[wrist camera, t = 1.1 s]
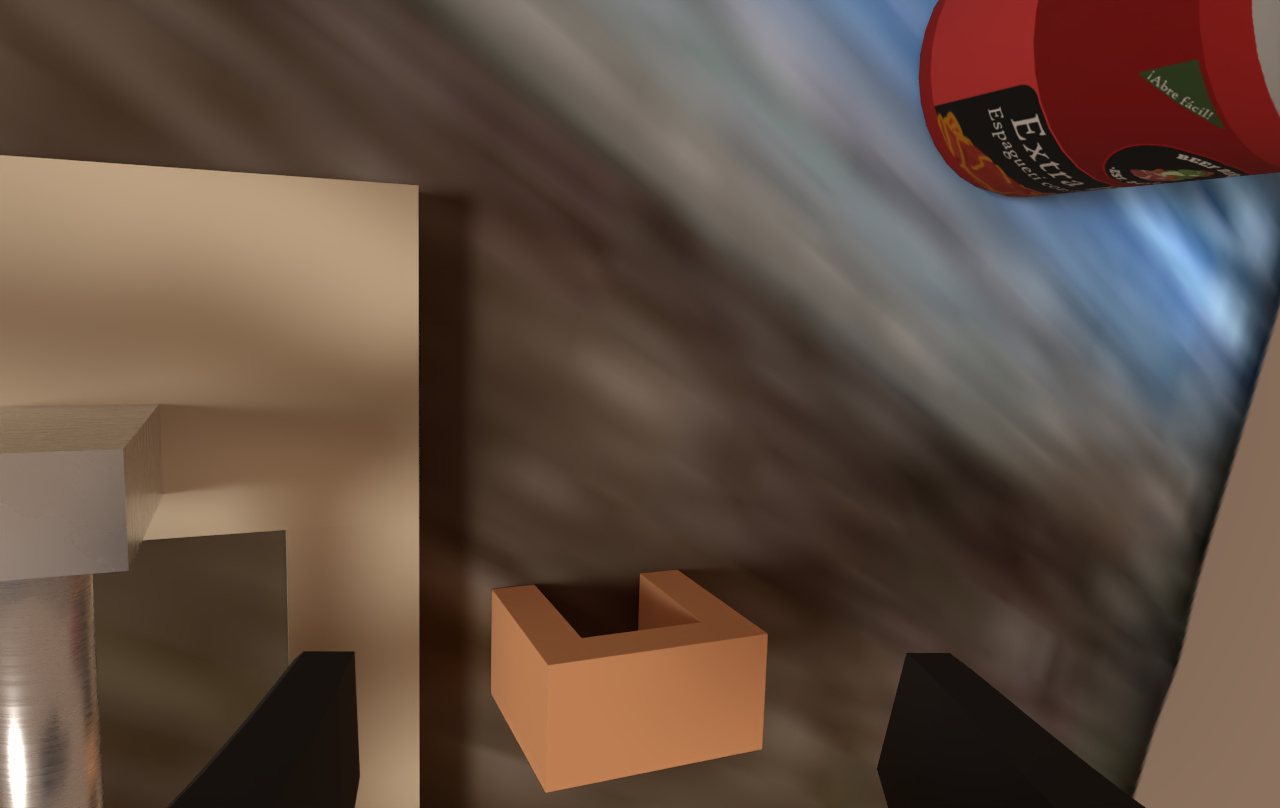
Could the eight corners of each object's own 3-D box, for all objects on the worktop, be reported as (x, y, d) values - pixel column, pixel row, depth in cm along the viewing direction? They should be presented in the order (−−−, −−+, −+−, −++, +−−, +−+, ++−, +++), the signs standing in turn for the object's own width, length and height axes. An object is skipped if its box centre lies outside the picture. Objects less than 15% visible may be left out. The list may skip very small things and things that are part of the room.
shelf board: (411, 1056, 25) (419, 1101, 24) (-233, 1252, 20) (-270, 1324, 18) (408, 190, 22) (418, 185, 21) (-359, 137, 16) (-415, 125, 15)
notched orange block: (673, 665, 27) (761, 749, 22) (491, 692, 25) (545, 792, 20) (676, 569, 26) (767, 633, 22) (492, 589, 24) (548, 665, 19)
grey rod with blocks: (183, 990, 21) (158, 1215, 16) (32, 1028, 20) (-46, 1283, 15) (159, 403, 19) (123, 449, 14) (-9, 406, 18) (-113, 457, 13)
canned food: (885, 164, 27) (1245, 100, 17) (943, -96, 27) (1347, -315, 17) (1060, 226, 31) (1450, 202, 21) (1114, -6, 30) (1540, -146, 20)
